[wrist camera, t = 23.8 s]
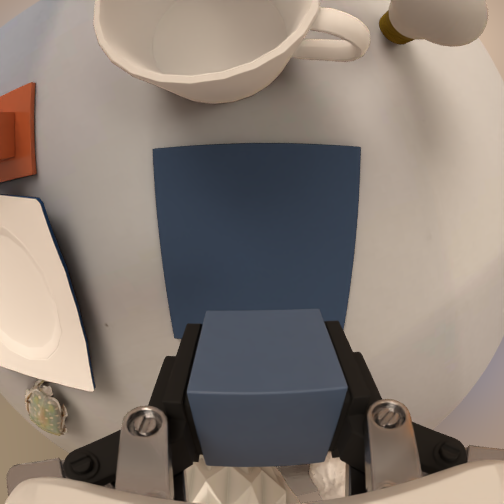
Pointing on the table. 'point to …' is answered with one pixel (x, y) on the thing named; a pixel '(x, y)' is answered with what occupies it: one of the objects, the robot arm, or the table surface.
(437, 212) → the table surface
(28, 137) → the terracotta tile
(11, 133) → the terracotta block
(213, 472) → the vase
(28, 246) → the plate
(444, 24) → the light bulb
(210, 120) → the table surface
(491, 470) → the robot arm
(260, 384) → the slate block
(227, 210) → the navy blue mat
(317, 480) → the sitting furry creature
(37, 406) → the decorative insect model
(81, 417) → the table surface
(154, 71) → the mug
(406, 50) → the table surface
